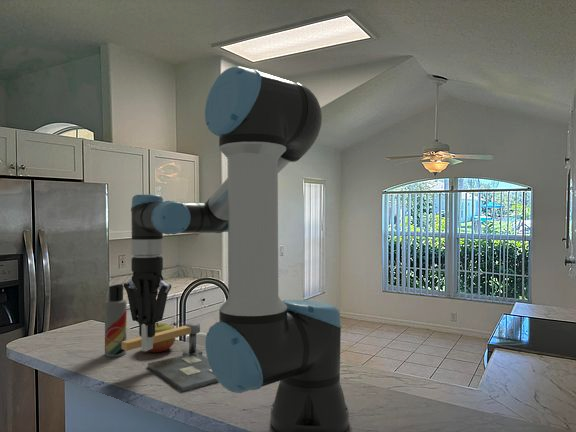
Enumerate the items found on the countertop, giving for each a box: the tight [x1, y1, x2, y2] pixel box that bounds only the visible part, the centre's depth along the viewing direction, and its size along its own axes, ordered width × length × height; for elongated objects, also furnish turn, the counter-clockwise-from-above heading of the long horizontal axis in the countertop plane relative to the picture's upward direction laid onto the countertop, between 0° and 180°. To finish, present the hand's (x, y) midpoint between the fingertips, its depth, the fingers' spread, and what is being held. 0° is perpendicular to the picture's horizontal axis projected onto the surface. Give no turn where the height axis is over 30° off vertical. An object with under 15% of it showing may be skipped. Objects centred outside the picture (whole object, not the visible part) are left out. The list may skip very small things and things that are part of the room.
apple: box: [147, 322, 176, 353], centre depth 124 cm, size 10×10×8 cm
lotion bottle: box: [104, 283, 128, 358], centre depth 120 cm, size 6×6×20 cm
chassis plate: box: [147, 353, 219, 393], centre depth 107 cm, size 20×14×1 cm
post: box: [182, 333, 203, 356], centre depth 120 cm, size 4×4×6 cm
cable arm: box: [122, 322, 201, 352], centre depth 112 cm, size 24×4×2 cm, turn 143°
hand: (147, 349), depth 106 cm, fingers closed
